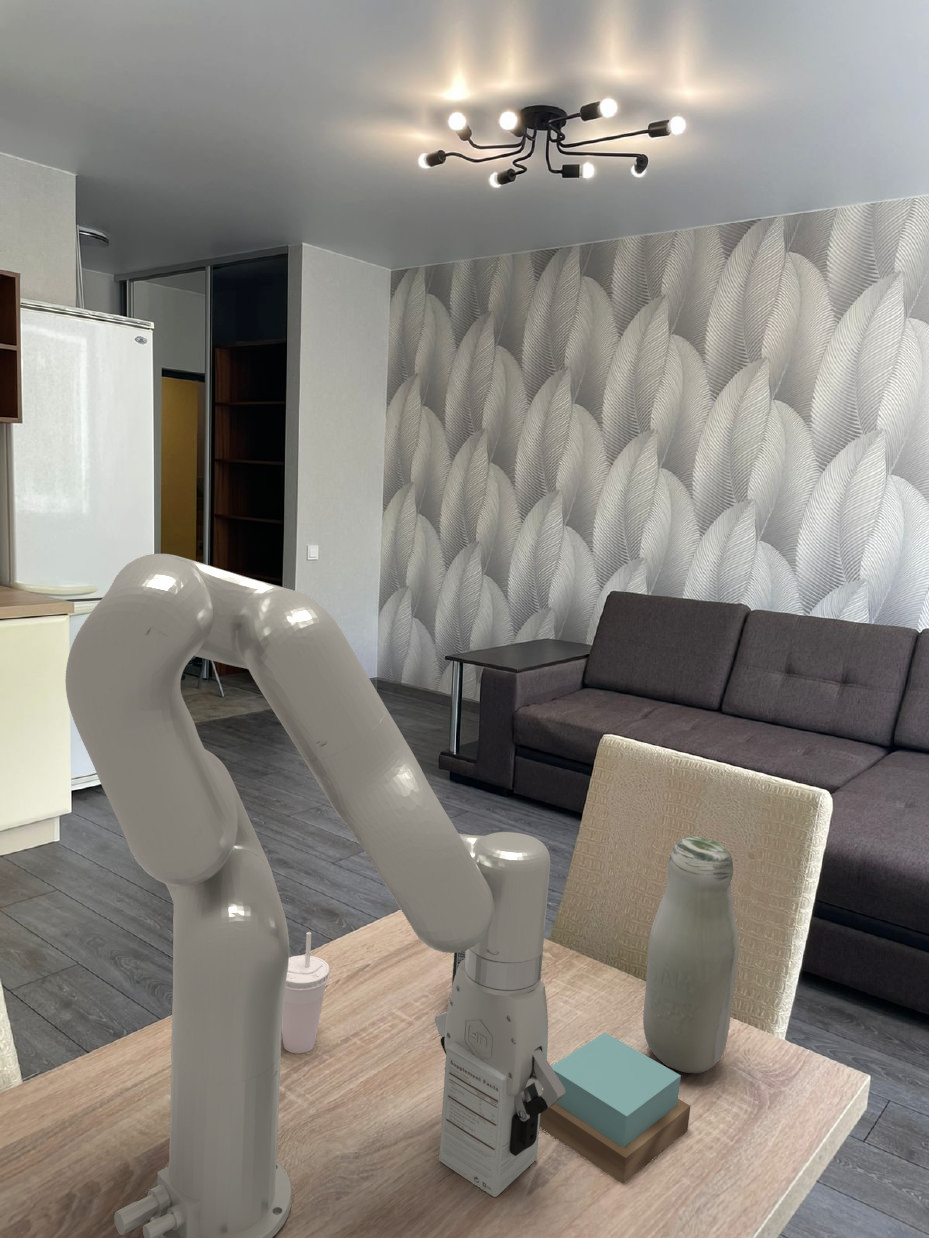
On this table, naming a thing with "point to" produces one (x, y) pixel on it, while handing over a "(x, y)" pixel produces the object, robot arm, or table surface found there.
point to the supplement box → (480, 1123)
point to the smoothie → (303, 1000)
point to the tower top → (616, 1088)
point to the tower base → (608, 1152)
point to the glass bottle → (692, 959)
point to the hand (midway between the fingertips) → (490, 1124)
